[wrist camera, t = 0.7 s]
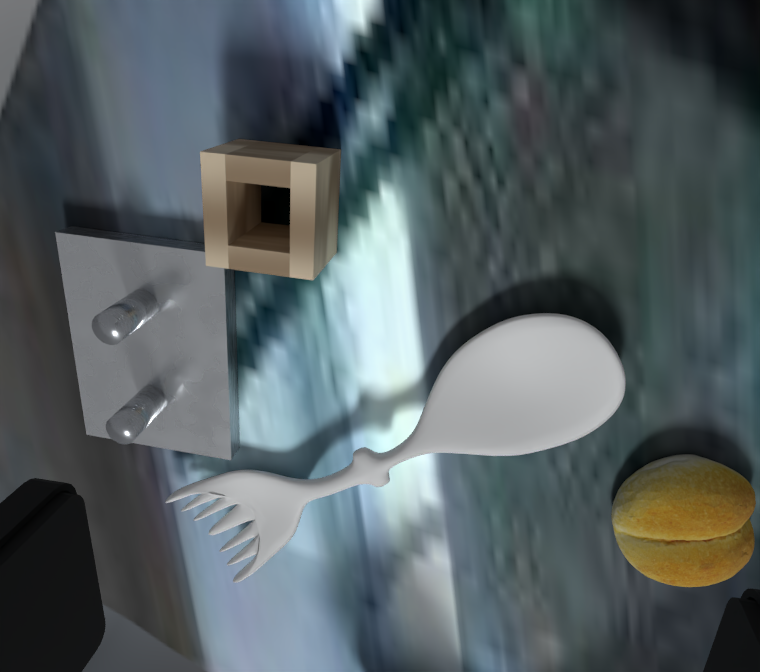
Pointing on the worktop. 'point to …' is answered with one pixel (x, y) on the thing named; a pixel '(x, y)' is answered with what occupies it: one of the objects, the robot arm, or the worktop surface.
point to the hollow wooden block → (243, 207)
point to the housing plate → (152, 340)
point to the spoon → (446, 423)
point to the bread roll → (685, 520)
